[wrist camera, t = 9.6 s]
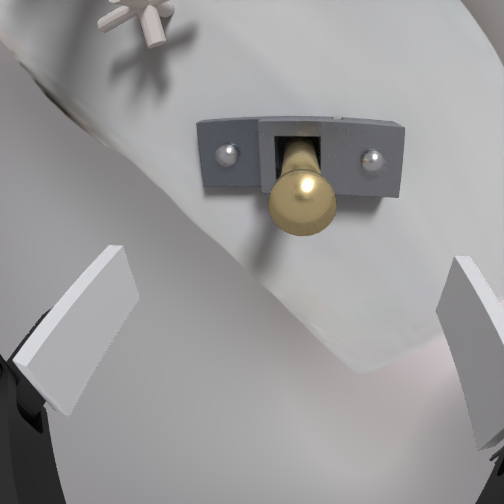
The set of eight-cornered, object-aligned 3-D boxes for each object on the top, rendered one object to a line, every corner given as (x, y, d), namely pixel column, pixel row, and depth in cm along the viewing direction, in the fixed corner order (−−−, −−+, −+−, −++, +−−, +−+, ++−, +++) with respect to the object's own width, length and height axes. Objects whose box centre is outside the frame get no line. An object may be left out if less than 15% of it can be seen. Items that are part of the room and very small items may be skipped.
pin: (279, 130, 30) (267, 173, 17) (318, 130, 29) (337, 174, 16) (280, 167, 32) (269, 235, 19) (318, 167, 31) (334, 236, 18)
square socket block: (202, 120, 30) (186, 127, 26) (393, 121, 27) (407, 129, 23) (208, 180, 34) (195, 196, 30) (388, 184, 30) (400, 200, 26)
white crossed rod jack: (222, 32, 25) (187, 14, 16) (138, 64, 27) (83, 67, 19) (198, -40, 20) (159, -74, 12) (119, -4, 23) (64, -17, 14)
